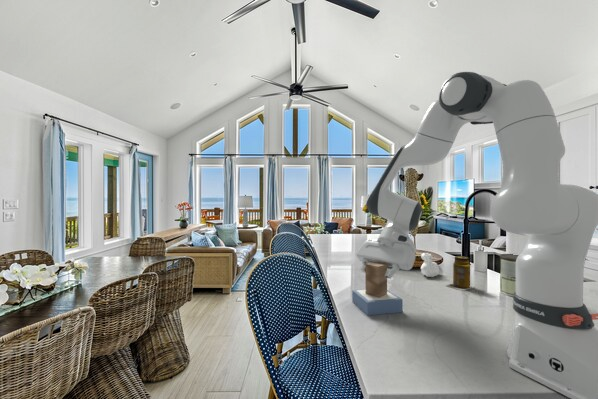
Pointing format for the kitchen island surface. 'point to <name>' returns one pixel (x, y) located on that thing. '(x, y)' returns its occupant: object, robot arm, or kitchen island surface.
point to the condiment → (461, 273)
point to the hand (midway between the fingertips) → (375, 274)
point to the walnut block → (376, 279)
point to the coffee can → (508, 274)
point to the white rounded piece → (429, 266)
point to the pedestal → (377, 302)
